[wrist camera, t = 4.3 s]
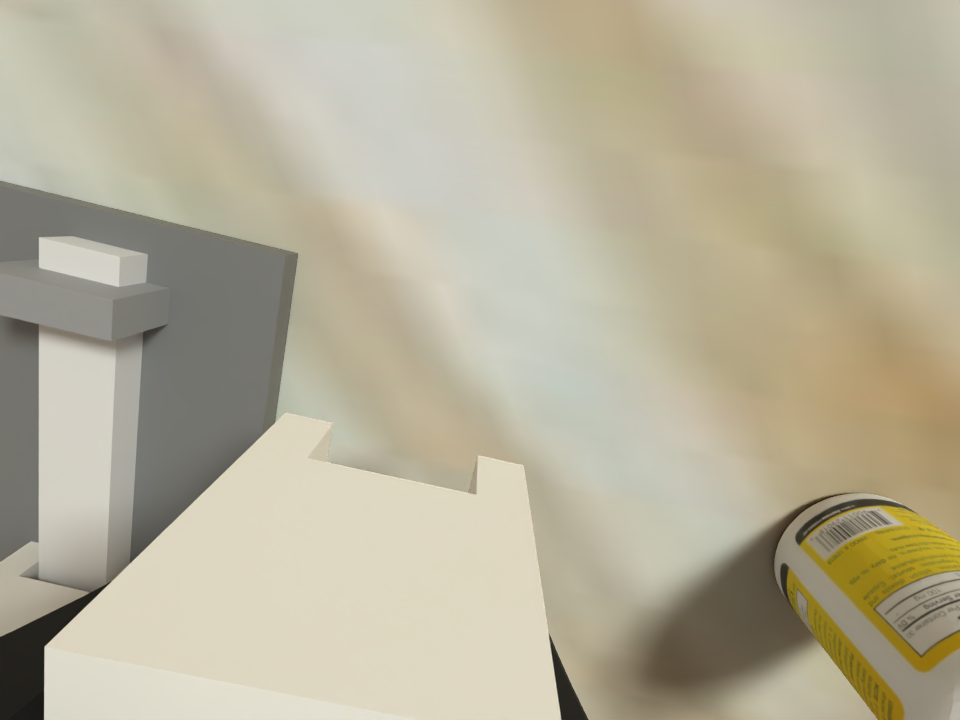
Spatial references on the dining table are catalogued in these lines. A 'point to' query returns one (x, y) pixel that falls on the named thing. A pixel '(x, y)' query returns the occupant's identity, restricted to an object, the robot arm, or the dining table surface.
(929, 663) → the supplement bottle
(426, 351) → the dining table surface
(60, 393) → the rail
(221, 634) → the block
